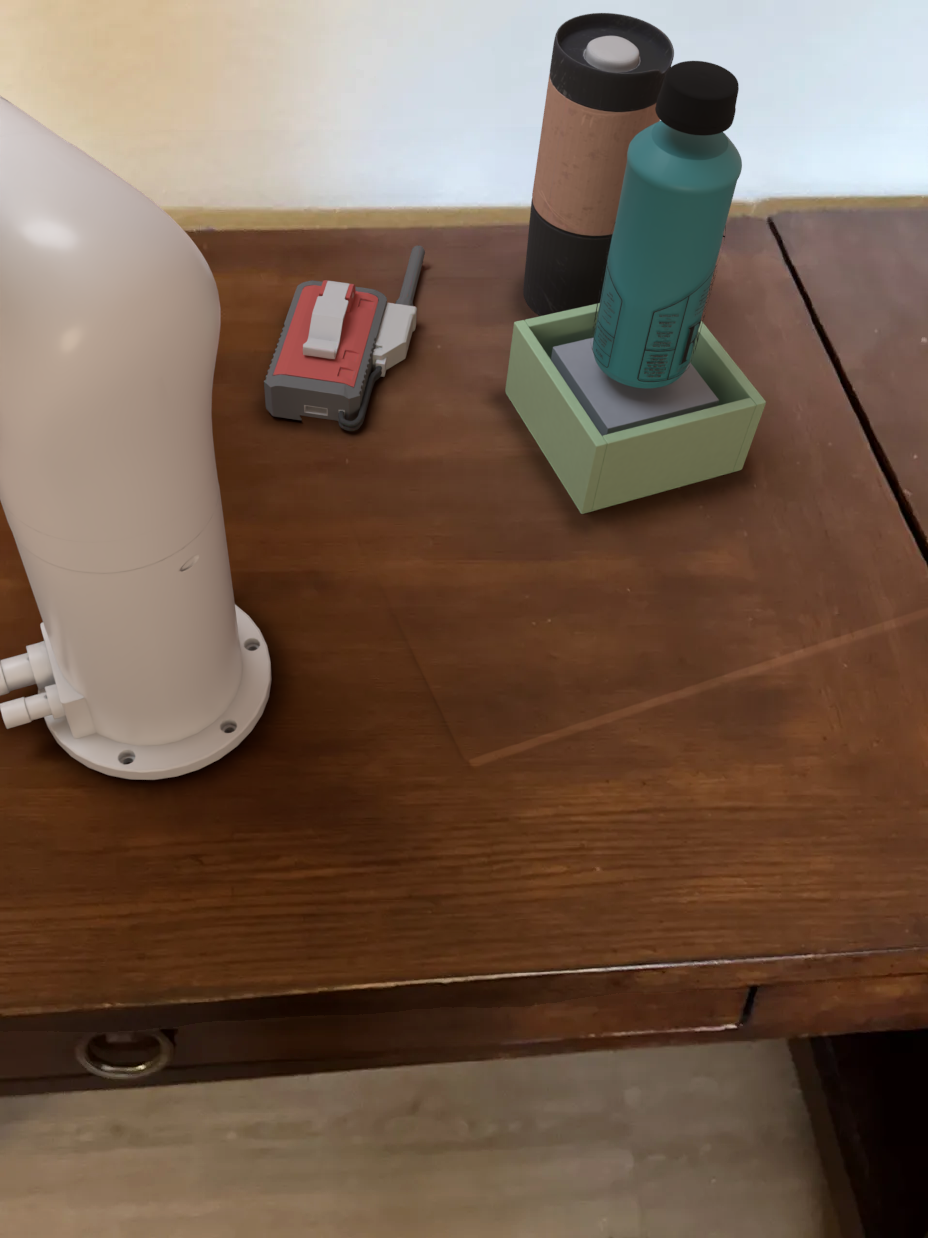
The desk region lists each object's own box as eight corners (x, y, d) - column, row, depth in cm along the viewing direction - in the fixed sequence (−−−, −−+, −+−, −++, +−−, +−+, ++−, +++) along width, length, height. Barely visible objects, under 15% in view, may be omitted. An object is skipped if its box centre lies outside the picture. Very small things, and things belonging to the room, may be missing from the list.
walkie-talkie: (387, 448, 80) (432, 265, 92) (388, 399, 77) (435, 214, 89) (256, 429, 81) (319, 248, 93) (252, 378, 77) (317, 197, 89)
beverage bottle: (681, 417, 76) (766, 120, 60) (576, 397, 76) (633, 97, 60) (690, 350, 80) (772, 54, 64) (590, 332, 80) (648, 33, 64)
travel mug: (505, 278, 92) (536, 16, 76) (598, 265, 94) (647, 6, 78) (538, 343, 88) (578, 80, 72) (635, 328, 90) (695, 68, 74)
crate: (579, 522, 78) (596, 446, 72) (503, 399, 84) (513, 321, 79) (739, 477, 81) (766, 401, 76) (654, 363, 88) (674, 285, 82)
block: (595, 484, 79) (608, 428, 75) (543, 403, 83) (552, 346, 79) (701, 455, 81) (719, 400, 77) (645, 378, 85) (659, 321, 81)
